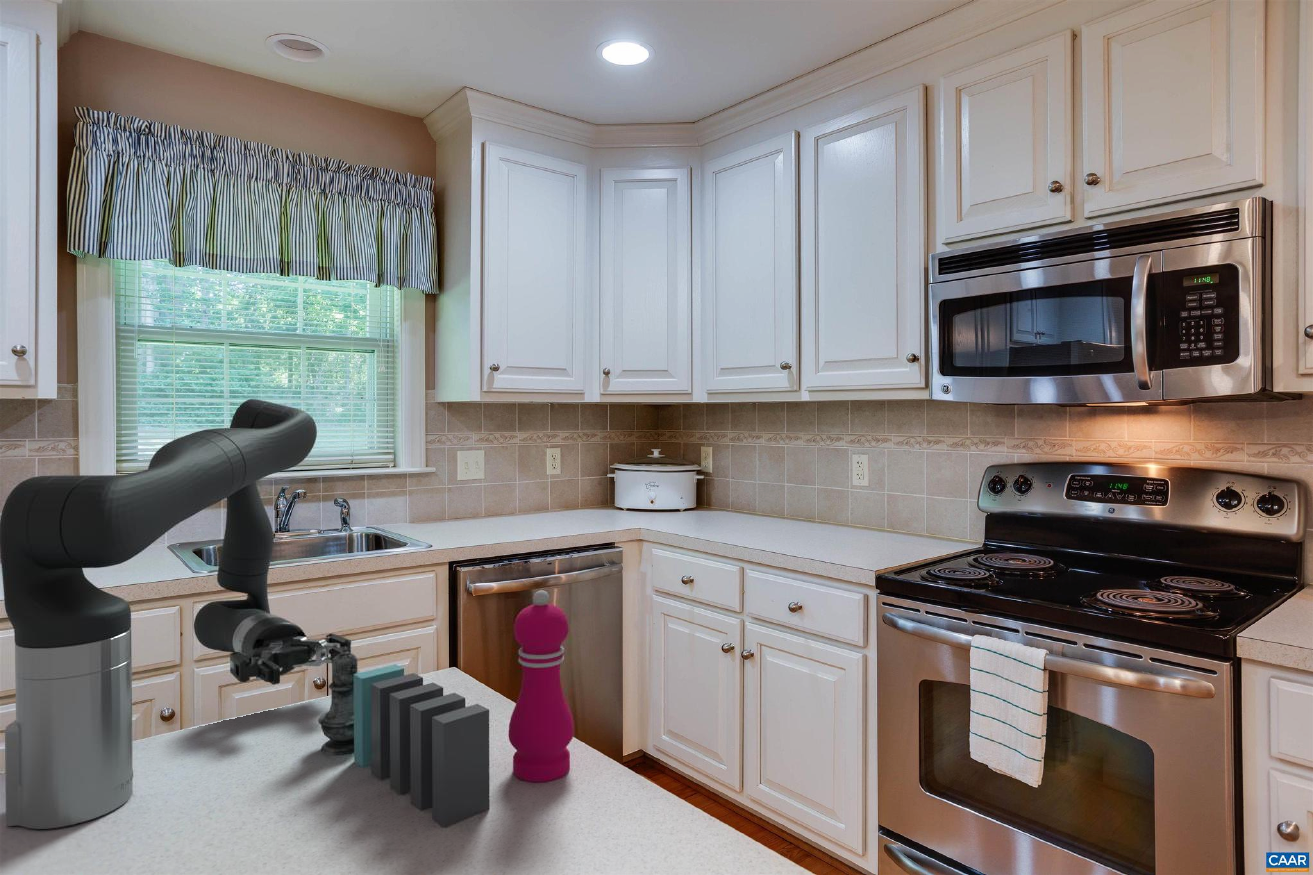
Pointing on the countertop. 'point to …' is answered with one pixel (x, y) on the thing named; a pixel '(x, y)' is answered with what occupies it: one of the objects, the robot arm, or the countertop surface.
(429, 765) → the domino
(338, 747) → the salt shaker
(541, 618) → the pepper mill
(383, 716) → the domino
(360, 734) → the domino
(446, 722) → the domino
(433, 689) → the domino
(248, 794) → the countertop surface
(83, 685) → the robot arm
